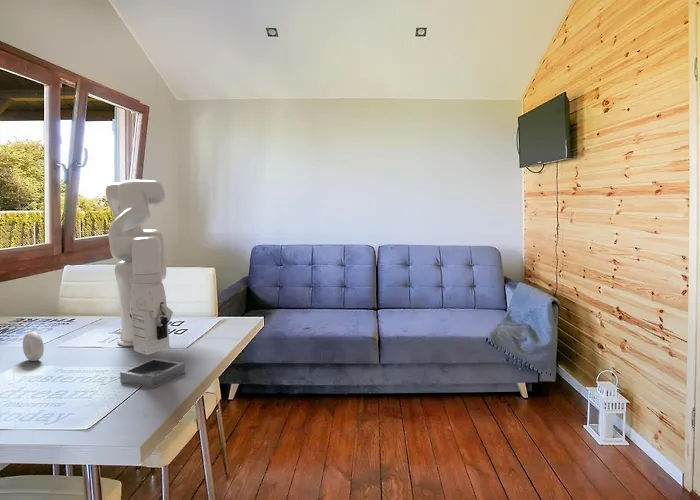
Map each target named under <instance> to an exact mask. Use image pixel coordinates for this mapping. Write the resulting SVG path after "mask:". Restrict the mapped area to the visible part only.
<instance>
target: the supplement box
mask: <svg viewBox="0 0 700 500" xmlns="http://www.w3.org/2000/svg"><path fill="white" fill-rule="evenodd" d="M162 313H164V312H163V311H162V310H161V309H160V313H159V315H161V314H162ZM131 314H132V328H133V343H134V346H133V351H135V352H137V353H140V354H143V355H146V356H148V355H151V354H154V353H157V352H161V351H163V350H167V349H170V347H171V346H170V335H169V334H170V333H169V332H170V330H169V323H168V324H167V337H166V338H163V339H161V340H158V339H157V326H158V324H157V322H156V320H155V319H150V312H148V311H141V310H132V309H131ZM164 315H165V313H164ZM160 320H161V321H162V317H161V318H160Z"/></svg>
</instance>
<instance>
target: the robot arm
mask: <svg viewBox="0 0 700 500" xmlns="http://www.w3.org/2000/svg"><path fill="white" fill-rule="evenodd" d="M165 192H166V191H165V188H164V186H163V184H162V183H161V182H160V181H157V180H152V179H151V180H149V179H129V180H124V181H122V182H112V183H109V184H108V185H106V188H105V198H106V200H107V203H108V206H109V208H110V210H111V212H112V214H113V216H114V220H112V222H111V223H110V225H109V229H108V234H107V235H108V243H109V251H110V254H111V256H112V258H113V259H114V260H116V261H118V262H117V263H116V264H115V266H114V275H115V279H116V284H117V287H118V288H117V289H118V290H117V291H118V297H119V311H120V312H119V313H120V325H121V326H120V328H119V330H117V331H116V335H120V338H118V340H117V345H119V346H123V347H132V346H133V347H134V343H133V328H132V314H131V309H132V310H141V311H148V312H150V319H155V320H156V322H157V324H158V326H157V339H158V340H161V339H163V338H166V337H167V324H168V325H169V322H170V320H171V319H172V316H173V314H174V312H173V310H172V309H171V308H169V307H168V306H167V298H166V297H167V296H166V291H165V287H164V284H163V281H164V280H165V279H166V277H167V262H166V248H165V239H164V235H163V233H162V232H161V231H160V230H159V229H154V228H151V229H147V228H146V229H143V228H142V225H144V224H146V223H147V222H148V221H149V220H150V218H151V211H150V207H157V206H161V205H163V203H164V201H165V199H166V197H165V196H166V193H165ZM160 309H161V310H162V311H163V312H164V313H165V315H164V313H162V314H161V315H159V313H160ZM161 317H162V321H161V320H160V318H161Z"/></svg>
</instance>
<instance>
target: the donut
mask: <svg viewBox="0 0 700 500" xmlns="http://www.w3.org/2000/svg"><path fill="white" fill-rule="evenodd" d="M22 339H23V340H22V350H23V354H24V355H25V358H26V359H28V361H30V362H37V361H39V360H40V359H42V357H43V356H44V350H45V348H44V347H45V346H44V342H43V338H42V336H41V335H40V333H38V332H36V331H28V332H27V333H26V334H25V335H24V336H23V338H22Z"/></svg>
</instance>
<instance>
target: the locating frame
mask: <svg viewBox="0 0 700 500" xmlns="http://www.w3.org/2000/svg"><path fill="white" fill-rule="evenodd" d="M185 368H186V367H185V362H179V361H175V360H174V361H173V360H167V359H161V358H151V359H148V360H146V361H144V362H141V363H139V364H136V365H134V366H132V367H129V368H127V369H125V370H122V371H120V372H119V377H120V378H119V379H120V383H123V384H127V385H132V386H137V387H142V388H148V389H155V388H157V387H159V386H161V385H163V384H165V383H167V382H169V381H171V380H173V379H175V378H176V377H179V376H181V375H183V374H186V370H185Z"/></svg>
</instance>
